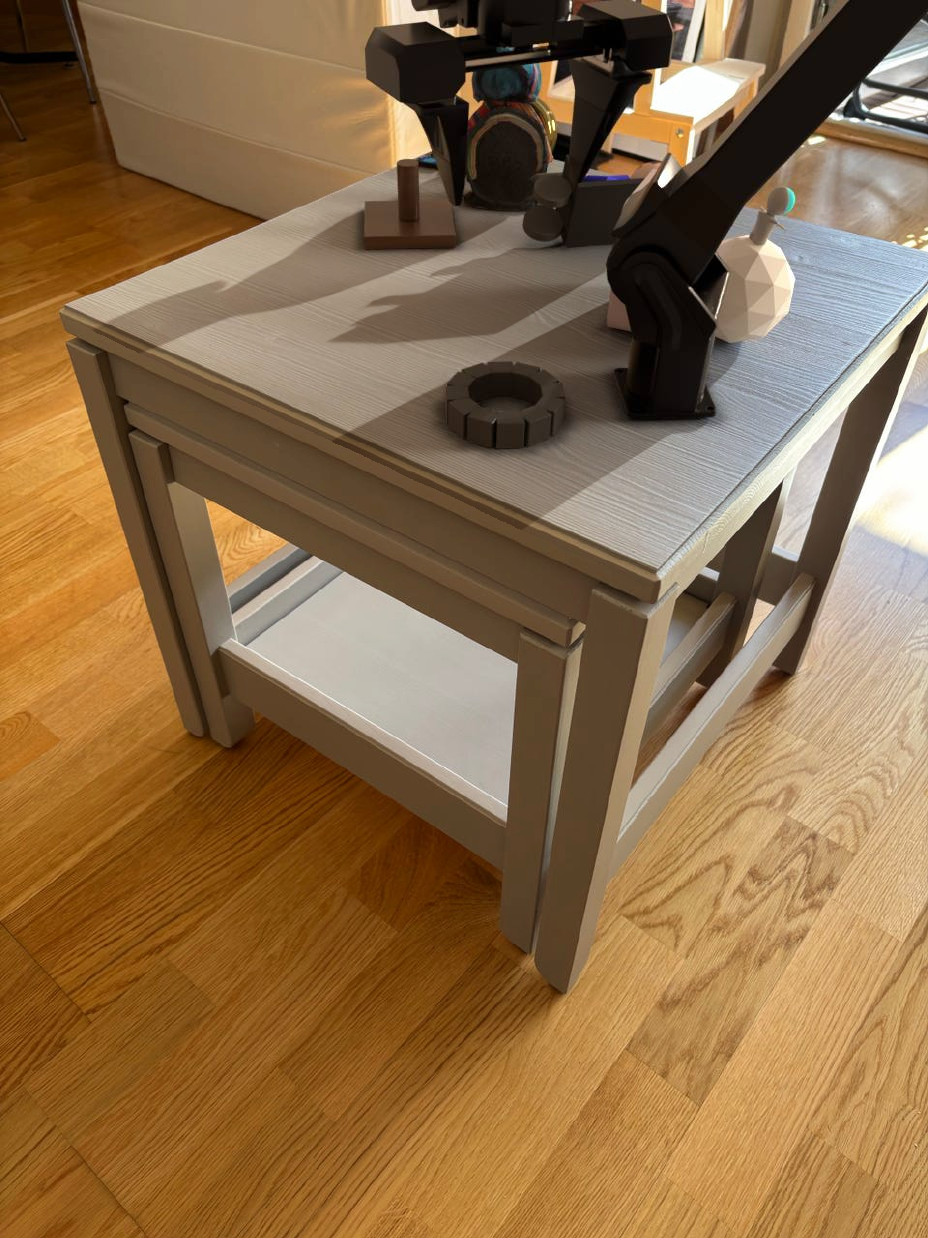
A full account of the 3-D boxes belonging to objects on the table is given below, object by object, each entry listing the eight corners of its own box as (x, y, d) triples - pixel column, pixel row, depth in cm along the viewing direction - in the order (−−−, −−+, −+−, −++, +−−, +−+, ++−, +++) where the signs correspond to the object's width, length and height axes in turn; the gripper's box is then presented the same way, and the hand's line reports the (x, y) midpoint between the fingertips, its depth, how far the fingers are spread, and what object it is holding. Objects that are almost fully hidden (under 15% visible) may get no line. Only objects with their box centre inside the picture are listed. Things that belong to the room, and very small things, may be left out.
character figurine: (515, 234, 93) (663, 225, 95) (532, 260, 87) (689, 250, 89) (518, 146, 88) (675, 139, 90) (537, 168, 82) (703, 160, 84)
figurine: (555, 190, 100) (568, 24, 90) (544, 216, 95) (556, 44, 85) (462, 181, 102) (464, 17, 91) (446, 206, 97) (446, 36, 86)
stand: (456, 247, 90) (456, 178, 85) (364, 249, 89) (360, 180, 85) (451, 211, 96) (451, 145, 91) (365, 213, 95) (361, 146, 91)
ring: (569, 446, 66) (572, 421, 65) (449, 450, 66) (449, 425, 65) (554, 383, 72) (556, 359, 71) (443, 386, 72) (443, 362, 71)
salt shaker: (515, 190, 101) (531, 181, 110) (566, 133, 97) (579, 128, 106) (465, 136, 100) (486, 131, 108) (515, 76, 96) (532, 75, 104)
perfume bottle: (777, 370, 77) (863, 223, 69) (690, 352, 74) (769, 197, 66) (738, 322, 82) (813, 181, 74) (655, 303, 79) (724, 155, 71)
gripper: (594, -123, 62) (573, 136, 73) (321, -105, 56) (342, 174, 67) (699, -97, 55) (658, 186, 66) (398, -73, 49) (408, 234, 60)
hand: (516, 192), depth 65 cm, fingers open, 9 cm apart
